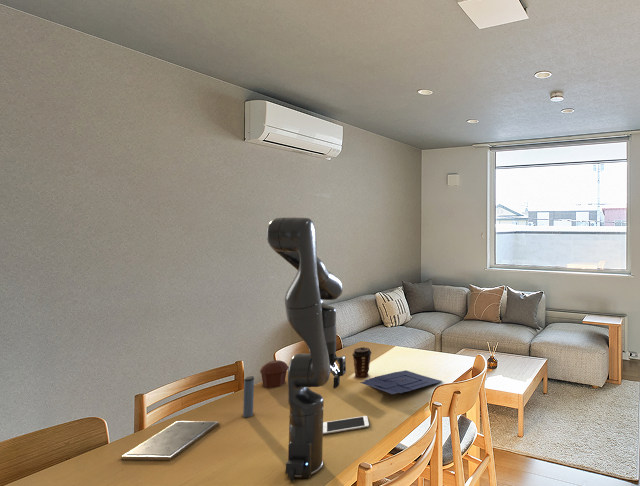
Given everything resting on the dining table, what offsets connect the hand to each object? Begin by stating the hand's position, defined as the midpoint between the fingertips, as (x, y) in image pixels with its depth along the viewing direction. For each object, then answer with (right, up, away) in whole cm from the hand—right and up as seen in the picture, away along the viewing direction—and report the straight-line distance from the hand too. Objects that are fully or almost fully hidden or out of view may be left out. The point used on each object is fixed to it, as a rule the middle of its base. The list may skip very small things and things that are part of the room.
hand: (323, 387), depth 130 cm
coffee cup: (-4, -20, +57) cm, 61 cm away
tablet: (-49, -18, 0) cm, 52 cm away
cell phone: (+4, -18, +10) cm, 21 cm away
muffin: (-41, -19, +47) cm, 65 cm away
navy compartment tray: (+17, -20, +46) cm, 53 cm away
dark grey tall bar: (-35, -18, +17) cm, 43 cm away
